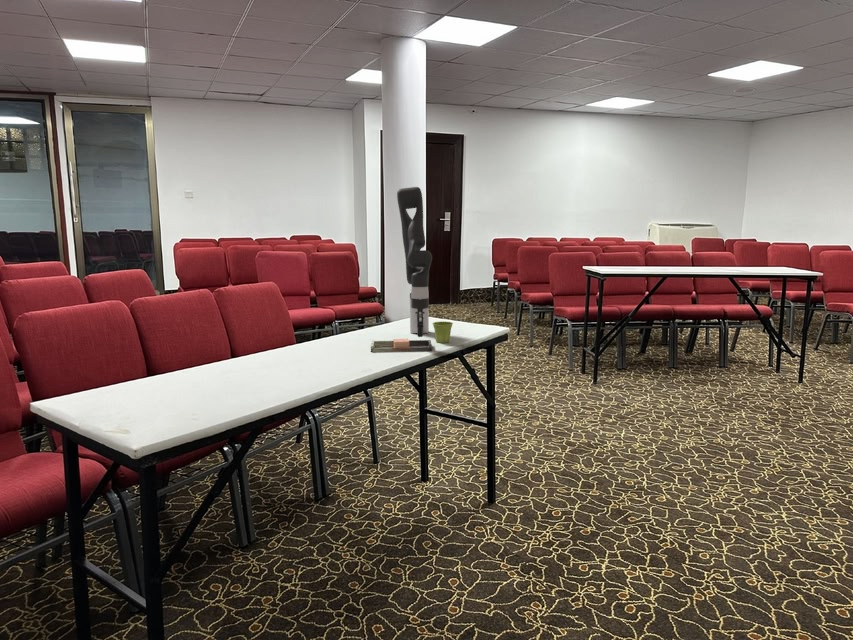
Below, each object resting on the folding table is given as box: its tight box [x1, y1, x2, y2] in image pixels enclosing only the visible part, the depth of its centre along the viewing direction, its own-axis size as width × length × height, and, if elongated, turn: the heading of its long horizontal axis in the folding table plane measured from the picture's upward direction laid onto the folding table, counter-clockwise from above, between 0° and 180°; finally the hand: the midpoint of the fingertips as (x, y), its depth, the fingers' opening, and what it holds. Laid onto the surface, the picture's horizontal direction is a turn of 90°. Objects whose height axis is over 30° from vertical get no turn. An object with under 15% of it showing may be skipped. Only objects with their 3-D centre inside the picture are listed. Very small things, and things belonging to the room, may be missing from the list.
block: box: [392, 338, 410, 348], centre depth 254 cm, size 6×6×4 cm
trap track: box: [370, 339, 433, 353], centre depth 254 cm, size 11×26×2 cm, turn 92°
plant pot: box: [431, 321, 454, 344], centre depth 268 cm, size 9×9×9 cm
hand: (420, 336), depth 254 cm, fingers closed
